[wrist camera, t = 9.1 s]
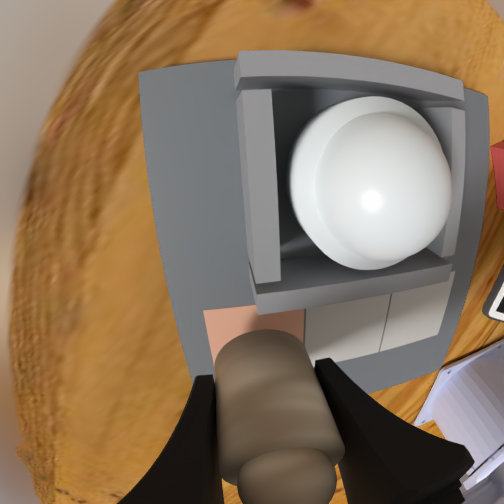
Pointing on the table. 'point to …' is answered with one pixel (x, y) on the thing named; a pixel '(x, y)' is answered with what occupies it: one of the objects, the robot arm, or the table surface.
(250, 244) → the game board
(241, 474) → the pawn
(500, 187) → the red die
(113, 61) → the table surface
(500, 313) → the cell phone
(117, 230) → the table surface
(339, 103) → the dome
